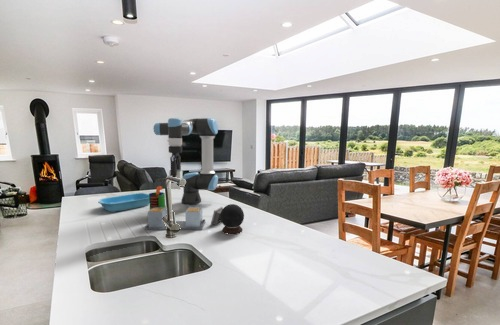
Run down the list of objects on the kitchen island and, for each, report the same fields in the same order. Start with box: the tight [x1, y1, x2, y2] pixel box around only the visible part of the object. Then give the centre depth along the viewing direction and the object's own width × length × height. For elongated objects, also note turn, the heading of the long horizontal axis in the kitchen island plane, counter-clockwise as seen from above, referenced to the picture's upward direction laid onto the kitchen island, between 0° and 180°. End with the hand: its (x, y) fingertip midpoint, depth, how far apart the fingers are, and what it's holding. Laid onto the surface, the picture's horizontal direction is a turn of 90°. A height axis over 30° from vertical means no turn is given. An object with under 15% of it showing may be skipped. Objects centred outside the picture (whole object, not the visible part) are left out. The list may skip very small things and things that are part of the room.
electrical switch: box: [210, 206, 224, 226], centre depth 159 cm, size 9×5×9 cm, turn 157°
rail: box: [144, 206, 206, 231], centre depth 153 cm, size 11×32×11 cm, turn 91°
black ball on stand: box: [220, 203, 245, 235], centre depth 146 cm, size 13×13×15 cm
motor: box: [148, 185, 166, 210], centre depth 168 cm, size 10×9×20 cm
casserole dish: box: [98, 192, 150, 213], centre depth 193 cm, size 37×22×7 cm, turn 136°
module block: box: [168, 169, 184, 190], centre depth 152 cm, size 6×6×11 cm
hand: (176, 185), depth 152 cm, fingers closed on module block, 6 cm apart
